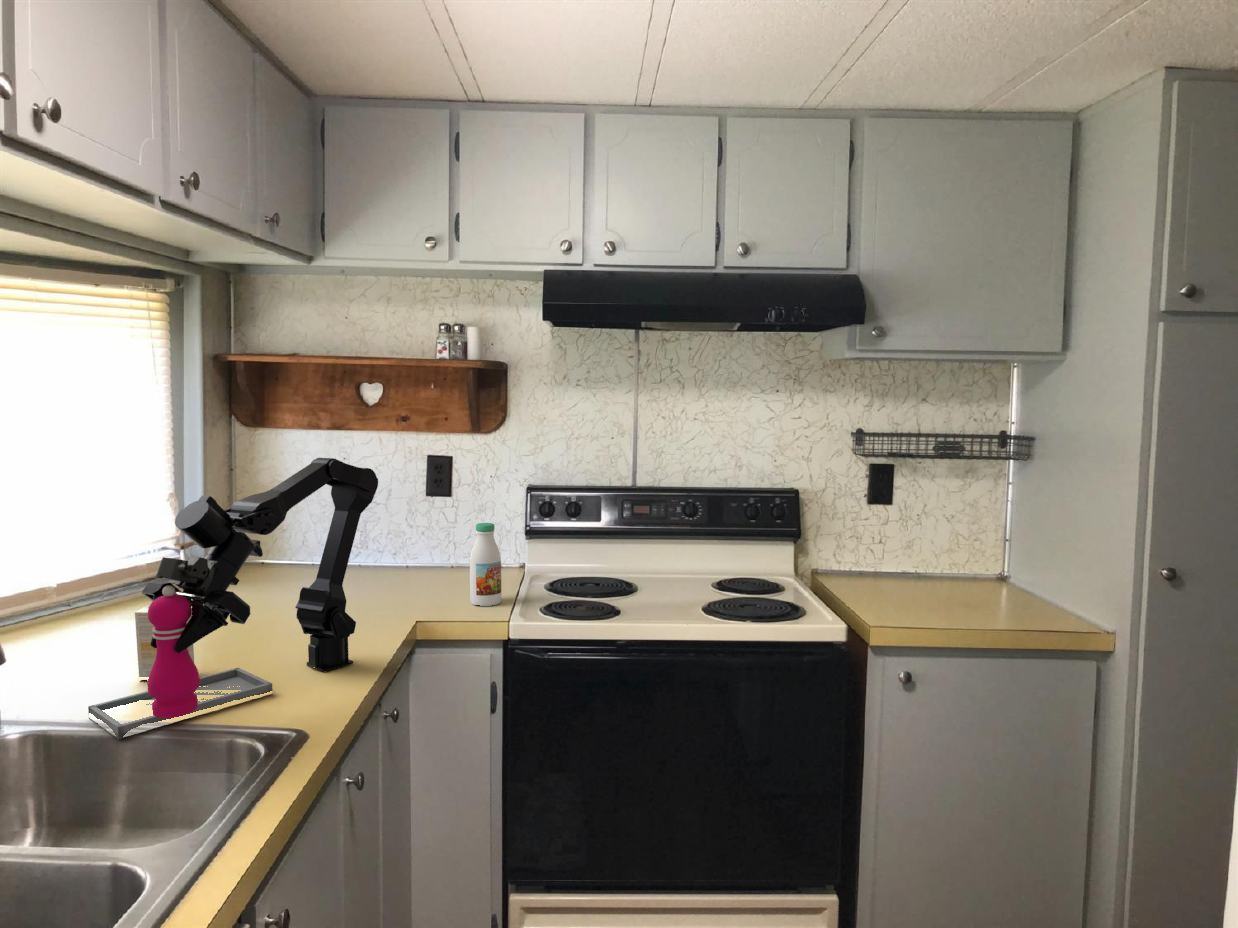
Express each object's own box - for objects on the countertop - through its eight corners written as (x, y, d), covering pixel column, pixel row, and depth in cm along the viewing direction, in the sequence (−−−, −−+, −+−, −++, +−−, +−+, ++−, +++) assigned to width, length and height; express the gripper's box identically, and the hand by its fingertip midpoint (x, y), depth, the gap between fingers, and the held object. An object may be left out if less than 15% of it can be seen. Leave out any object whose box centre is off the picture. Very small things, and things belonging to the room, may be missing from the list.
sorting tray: (238, 678, 152) (238, 667, 152) (272, 694, 144) (272, 683, 144) (88, 718, 133) (88, 706, 133) (118, 740, 125) (117, 727, 125)
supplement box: (196, 672, 155) (193, 604, 154) (183, 681, 150) (180, 611, 149) (151, 672, 155) (148, 604, 153) (137, 681, 150) (133, 611, 149)
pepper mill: (211, 704, 131) (205, 581, 129) (176, 722, 124) (168, 593, 122) (175, 699, 133) (168, 578, 131) (137, 716, 126) (129, 589, 124)
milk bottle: (465, 606, 202) (464, 525, 200) (477, 598, 210) (476, 520, 208) (494, 608, 200) (493, 527, 198) (506, 600, 208) (505, 522, 206)
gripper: (149, 531, 134) (86, 615, 125) (231, 541, 126) (170, 631, 117) (194, 569, 142) (138, 650, 133) (274, 580, 134) (220, 667, 125)
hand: (164, 649), depth 127 cm, fingers closed on pepper mill, 5 cm apart
